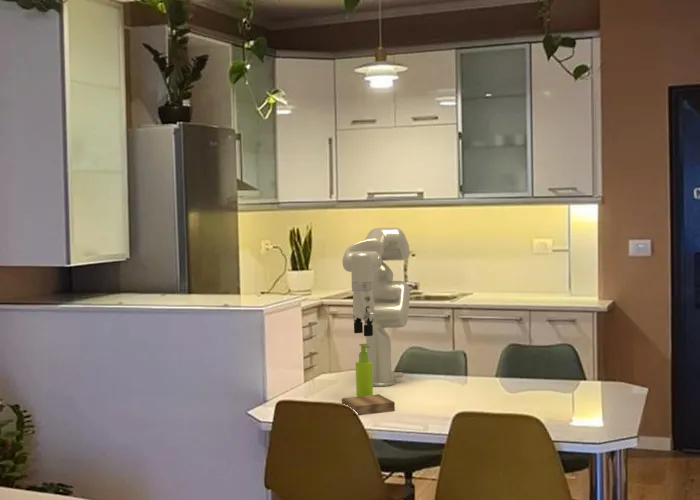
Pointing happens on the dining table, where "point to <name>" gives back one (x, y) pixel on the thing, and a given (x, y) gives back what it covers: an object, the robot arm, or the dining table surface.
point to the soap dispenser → (364, 373)
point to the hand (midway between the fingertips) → (363, 334)
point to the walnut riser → (369, 404)
